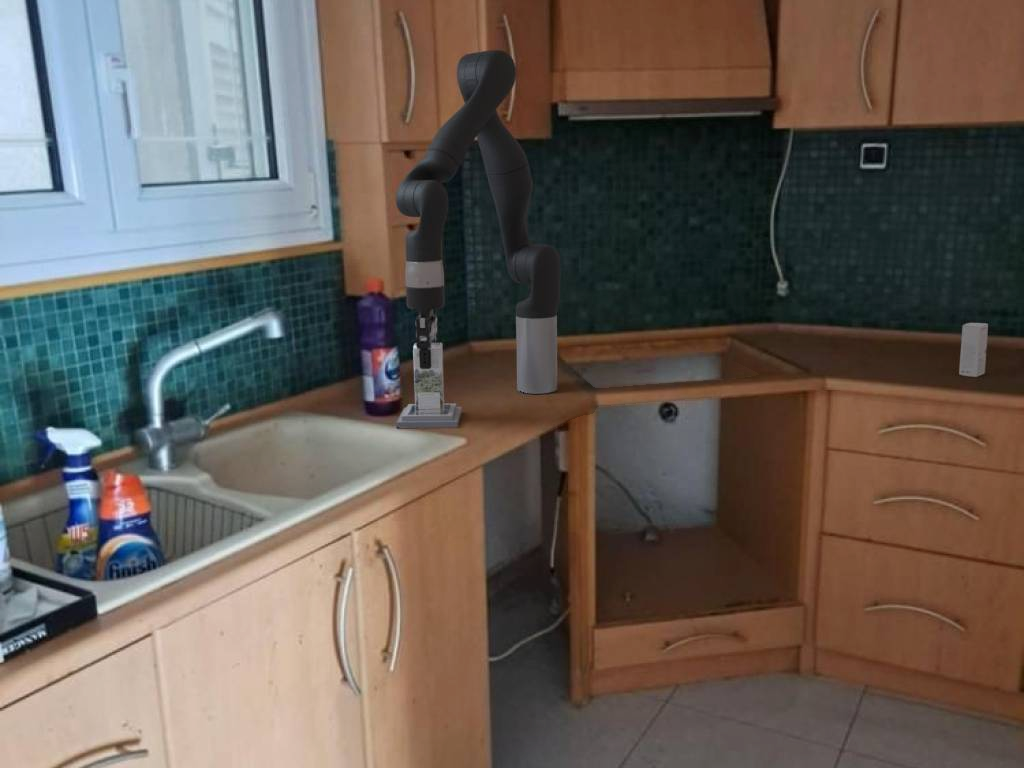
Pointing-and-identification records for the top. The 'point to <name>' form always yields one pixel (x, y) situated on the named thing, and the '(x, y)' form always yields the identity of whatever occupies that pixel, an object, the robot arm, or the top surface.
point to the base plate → (430, 418)
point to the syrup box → (429, 383)
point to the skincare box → (973, 349)
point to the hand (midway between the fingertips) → (428, 364)
